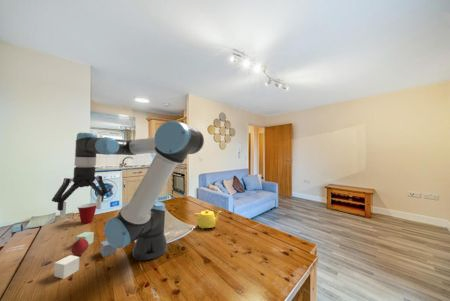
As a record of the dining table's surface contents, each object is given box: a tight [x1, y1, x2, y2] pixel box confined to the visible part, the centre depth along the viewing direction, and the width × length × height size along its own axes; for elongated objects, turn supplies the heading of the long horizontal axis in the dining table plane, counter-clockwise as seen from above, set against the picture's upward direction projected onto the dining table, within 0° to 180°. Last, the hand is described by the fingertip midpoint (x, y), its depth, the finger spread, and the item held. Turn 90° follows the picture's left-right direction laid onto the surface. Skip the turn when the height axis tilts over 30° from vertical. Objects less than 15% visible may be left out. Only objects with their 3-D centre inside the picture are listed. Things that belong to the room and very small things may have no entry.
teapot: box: [194, 209, 222, 229], centre depth 109 cm, size 18×11×11 cm, turn 96°
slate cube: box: [99, 240, 117, 258], centre depth 77 cm, size 5×5×5 cm
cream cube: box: [53, 254, 81, 280], centre depth 63 cm, size 5×5×5 cm
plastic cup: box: [76, 202, 97, 225], centre depth 110 cm, size 11×11×12 cm
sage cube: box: [74, 231, 95, 245], centre depth 83 cm, size 5×5×5 cm
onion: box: [70, 237, 90, 256], centre depth 74 cm, size 6×6×8 cm
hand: (81, 213), depth 75 cm, fingers open, 13 cm apart
